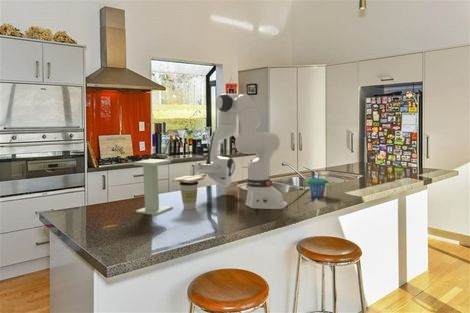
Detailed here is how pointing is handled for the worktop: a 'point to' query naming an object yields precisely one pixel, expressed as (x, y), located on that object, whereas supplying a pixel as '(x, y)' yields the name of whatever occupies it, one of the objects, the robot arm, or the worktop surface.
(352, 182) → the worktop surface
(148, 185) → the tall stand
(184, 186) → the coffee cup
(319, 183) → the snack cup
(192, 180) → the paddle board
